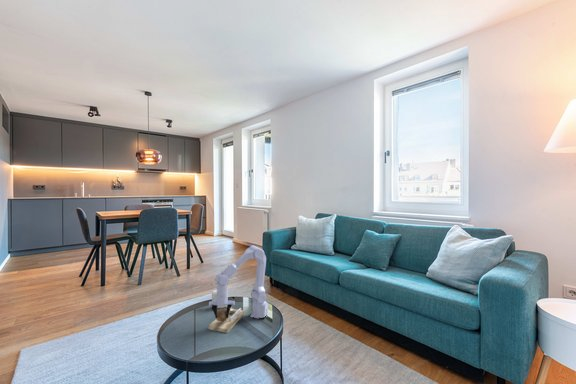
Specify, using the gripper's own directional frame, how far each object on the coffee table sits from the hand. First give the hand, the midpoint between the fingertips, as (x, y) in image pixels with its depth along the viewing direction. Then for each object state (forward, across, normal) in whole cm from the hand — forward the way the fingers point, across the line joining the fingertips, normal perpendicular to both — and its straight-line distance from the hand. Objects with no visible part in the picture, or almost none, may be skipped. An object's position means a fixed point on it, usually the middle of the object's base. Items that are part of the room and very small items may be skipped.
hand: (222, 317), depth 154 cm
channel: (+4, -3, -9) cm, 10 cm away
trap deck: (+6, -2, -6) cm, 8 cm away
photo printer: (+6, +6, -24) cm, 25 cm away
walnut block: (+1, 0, -1) cm, 2 cm away
